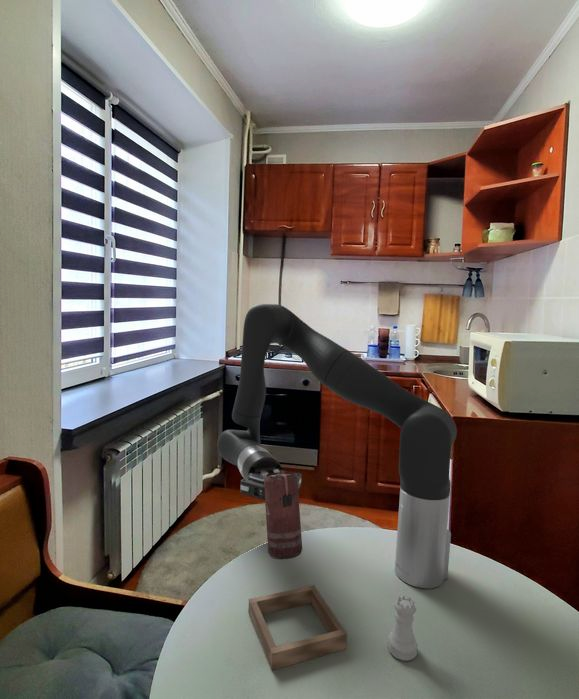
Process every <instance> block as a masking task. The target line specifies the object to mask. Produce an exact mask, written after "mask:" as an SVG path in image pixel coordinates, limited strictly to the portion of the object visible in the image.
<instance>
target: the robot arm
mask: <svg viewBox="0 0 579 699" xmlns="http://www.w3.org/2000/svg"><path fill="white" fill-rule="evenodd" d="M272 344H278V345H280V346H282V347H284V348H286V349H288V350H290V351H291V352H292V353H293V354H295V355H297V356H298V357H299V358H300V359H301V360H302V361H303V362H304V363H305V365H306V366H307V367H308V369H309V372H311V373H312V375H313V376H314V377H315V378H316V380H317V381H318V382H320V384H322V385H323V386H324V387H326V388H327V389H328V390H329V391H331V392H333V393H334V394H336V395H337V396H338V397H341V398H342V399H344V400H345V401H347V402H350V403H351V404H354V405H357V406H358V407H362V408H365V409H366V410H370V411H372V412H375V413H377V414H379V415H381V416H383V417H384V418H386V419H388V420H389V421H391V422H392V423H393V424H394V425H397V427H399V428H400V429H401V430H400V435H399V452H398V453H399V454H398V457H399V458H398V474H399V477H400V483H399V484H400V490H399V502H398V505H399V506H398V515H397V516H398V519H397V532H396V548H395V549H396V550H395V561H394V562H395V563H394V572H395V574H396V575H397V577H398V578H399V579H400V580H401V581H403V582H405V583H406V584H408V585H410V586H413V587H416V588H421V589H435V588H438V587H439V586H442V584H443V582H444V580H447V579H448V577H449V576H448V575H449V564H450V553H451V551H450V550H451V538H452V532H451V531H450V530H449V529H448V524H449V523H448V522H449V512H450V497H451V486H452V483H451V480H450V466H451V454H452V446H453V444H454V443H455V440H456V438H457V434H458V428H457V424H456V422H455V421H454V419H453V417H452V416H451V415H450V413H449V412H447V410H444V409H443V408H441V407H440V406H438V405H435V404H434V403H432V402H429V401H427V400H426V399H424V398H422V397H419V396H418V395H417V394H414V393H413V392H410V391H408V390H407V389H406V388H403V387H402V386H400V385H399V384H397V383H396V382H394V380H392V379H391V378H389V377H388V376H387V375H385V374H383V373H382V372H381V371H380V370H378V369H377V368H375V367H374V366H372V365H371V364H369V363H368V362H366V361H365V360H363V358H361V357H360V356H357V355H356V354H354V353H353V352H351V351H350V350H349V349H347V348H344V347H343V346H341V345H339V344H338V343H336V342H335V341H333V340H332V339H330V338H328V337H327V336H325V335H323V334H321V333H319V332H318V331H316V330H315V329H314V328H312V327H311V326H310V325H308V324H307V323H306V322H305V321H303V320H302V319H301V318H299V316H297V314H295V313H293V312H292V311H291V310H290V309H288V308H287V307H285V306H284V305H280V304H275V303H273V304H272V303H271V304H270V303H259V304H256V305H253V306H251V308H249V310H248V311H247V313H246V314H245V318H244V323H243V332H242V348H241V362H240V374H239V381H238V385H237V391H236V396H235V400H234V404H233V408H232V412H231V419H232V421H233V422H234V423H235V424H236V425H239V426H242V427H245V428H247V430H240V429H225V430H224V431H222V432H221V433H220V435H219V437H218V439H217V442H216V443H217V451H218V454H219V455H220V457H221V458H222V459H223V460H225V461H226V462H228V463H229V464H232V465H233V466H235V467H237V469H238V470H239V472H240V475H241V476H242V477H243V478H242V479H241V480H240V494H242V495H245V496H249V497H252V498H255V499H259V500H261V501H265V487H264V479H265V477H266V475H267V474H270V473H277V472H287V471H286V470H284V469H283V468H282V466H281V464H280V462H279V461H278V460H277V459H276V458H275V457H274V455H272V454H271V453H270V452H269V451H268V450H267V449H265V448H264V447H263V446H262V445H261V429H260V427H261V417H262V413H263V409H264V406H265V401H266V396H267V395H266V394H267V385H266V378H265V361H266V356H267V354H268V350H269V348H270V345H272ZM294 473H295V475H296V476H297V479H298V491H299V490H300V488H301V486H302V473H301V472H294ZM279 499H280V500H281V498H279ZM287 502H288V506H292V496H291V494H290V495H288V497H287V495H283V508H284V507H287Z"/></svg>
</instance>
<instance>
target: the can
mask: <svg viewBox="0 0 579 699" xmlns="http://www.w3.org/2000/svg"><path fill="white" fill-rule="evenodd" d="M295 473H296V472H293V471H286V472H277V473H270V474H267V475H266V477H265V479H264V487H265V500H264V503H265V504H264V506H265V522H266V534H267V535H266V536H267V537H266V538H267V553H268V554H269V556H270V557H271V559H275V560H291V559H295V558H297V557H299V556H301V554H302V552H303V543H302V542H303V541H302V540H303V539H302V527H301V525H302V524H301V512H300V511H301V510H300V497H299V496H300V495H299V490H298V479H297V476H296V475H295ZM290 494H291V496H292V506H288V502H287V507H284V508H283V495H287V497H288V495H290ZM279 498H281V500H280V499H279Z"/></svg>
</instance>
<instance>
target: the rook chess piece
mask: <svg viewBox="0 0 579 699" xmlns="http://www.w3.org/2000/svg"><path fill="white" fill-rule="evenodd" d="M400 596H401V597H400ZM400 596H397V597H396V601H395V602H394V603H393V608H394V609H395V612H394V617H395V623H394V628H393V629H391V632H390V633H389V634H388V638H387V644H386V645H387V649H388V651H389V652H390V653H391V655H392V656H393V657H394V658H396V659H397V660H400V661H402V662H403V661H404V662H409V661H411V660H413V659H415V658H416V656H417V655H418V643H417V639H416V638H415V635H414V630H413V622H414V620H415V617H414V616H413V615H414V614H415V613H416V612H417V608H416V605H415V601H414V600H412V598H411V597H409V596H407V598H406V596H405V595H400Z"/></svg>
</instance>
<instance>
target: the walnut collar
mask: <svg viewBox="0 0 579 699" xmlns="http://www.w3.org/2000/svg"><path fill="white" fill-rule="evenodd" d="M309 604H310V605H311V606H312V608H313V610H314V611H315V612H316V615H317V616H318V617H319V619H320V621H321V623H322V624H323V626H324V627H325V629H326V630H327V633H326V632H325V633H323V634H318V635H315V636H313V637H308V638H304V639H301V640H296V641H293V642H289V643H285V644H282V645H278V646H277V645H276V643H275V641H274V638H273V636H272V634H271V632H270V629H269V627H268V625H267V623H266V620H265V619H264V615H265V614H270V613H275V612H279V611H283V610H287V609H292V608H295V607H300V606H305V605H309ZM248 613H249V614H248ZM247 614H248V617H249V618H251V619H250V620H251V621H250V622H251V623H253V624H252V626H253V629H254V628H255V629H254V630H255V633H256V635H257V638H258V640H259V643H260V646H261V648H262V650H263V654H264V656H265V658H266V661H267V663H268V665H269V668H270V670H271V671H273V670H278V669H281V668H283V667H288V666H291V665H294V664H299V663H302V662H305V661H308V660H312V659H315V658H319V657H323V656H326V655H330V654H334V653H336V652H340V651H344V650H347V637H348V632H346V631H347V630H345V628H344V626H342V624H341V623H340V621H339V619H338V618H337V617H336V615H335V614H334V613H333V611H332V609H331V608H330V607H329V604H328V603H327V602H326V600H325V599H324V598H323V596H322V595H321V593H320V591H318V589H317V588H316V585H314V584H312V585H308V586H304V587H299V588H295V589H289V590H284V591H280V592H276V593H271V594H267V595H266V594H265V595H262V596H257V597H253V598H248V609H247Z"/></svg>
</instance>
